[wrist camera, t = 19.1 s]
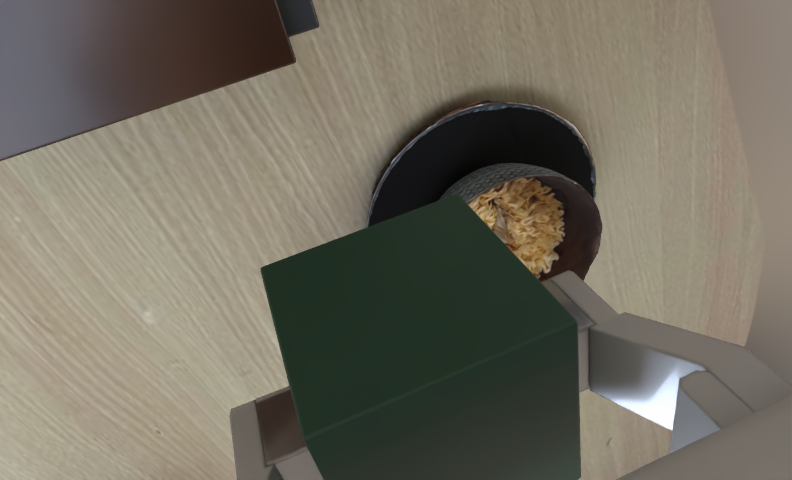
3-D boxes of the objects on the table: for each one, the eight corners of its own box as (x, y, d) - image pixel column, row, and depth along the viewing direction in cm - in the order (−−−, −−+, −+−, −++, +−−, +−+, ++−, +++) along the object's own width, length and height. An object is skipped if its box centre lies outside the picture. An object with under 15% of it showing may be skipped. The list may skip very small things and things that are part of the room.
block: (457, 192, 12) (579, 320, 9) (481, 334, 15) (582, 478, 11) (259, 266, 12) (302, 440, 8) (320, 402, 14) (373, 578, 11)
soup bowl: (609, 96, 34) (703, 143, 28) (543, 308, 42) (604, 378, 36) (374, 91, 29) (427, 146, 23) (349, 333, 37) (384, 419, 31)
